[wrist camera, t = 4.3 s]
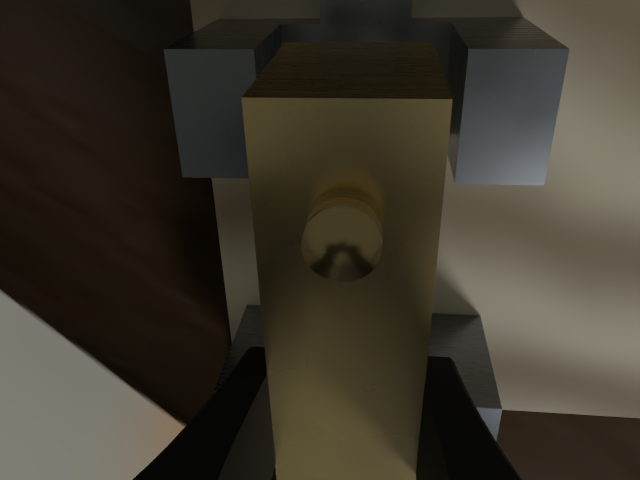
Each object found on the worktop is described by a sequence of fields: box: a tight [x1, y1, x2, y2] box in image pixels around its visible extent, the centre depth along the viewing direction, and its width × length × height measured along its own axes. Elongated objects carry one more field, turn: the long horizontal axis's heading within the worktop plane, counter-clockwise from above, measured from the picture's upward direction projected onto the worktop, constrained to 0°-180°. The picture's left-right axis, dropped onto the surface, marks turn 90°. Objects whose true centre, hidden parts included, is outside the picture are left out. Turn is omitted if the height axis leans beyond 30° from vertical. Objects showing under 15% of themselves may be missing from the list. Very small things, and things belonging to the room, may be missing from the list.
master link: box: [241, 42, 453, 480], centre depth 13 cm, size 13×3×5 cm, turn 1°
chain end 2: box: [214, 305, 502, 440], centre depth 20 cm, size 4×8×4 cm, turn 91°
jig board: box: [190, 0, 640, 418], centre depth 19 cm, size 16×17×1 cm
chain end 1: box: [164, 0, 570, 186], centre depth 14 cm, size 4×8×4 cm, turn 91°
